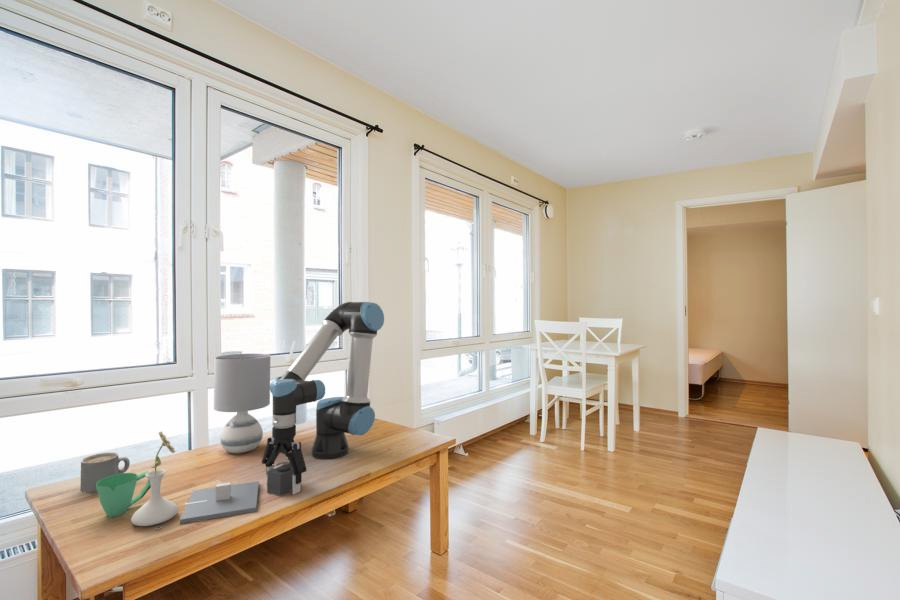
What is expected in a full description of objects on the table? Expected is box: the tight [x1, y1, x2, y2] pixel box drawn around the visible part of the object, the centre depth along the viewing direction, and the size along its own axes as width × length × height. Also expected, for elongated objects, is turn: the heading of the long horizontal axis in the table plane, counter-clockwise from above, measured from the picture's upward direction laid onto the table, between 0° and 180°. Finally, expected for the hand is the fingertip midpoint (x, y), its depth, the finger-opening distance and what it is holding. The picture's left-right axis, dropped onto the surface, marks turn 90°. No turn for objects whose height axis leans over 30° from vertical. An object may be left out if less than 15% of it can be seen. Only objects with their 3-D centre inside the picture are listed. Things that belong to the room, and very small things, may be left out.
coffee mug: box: [80, 451, 131, 494], centre depth 145 cm, size 13×10×10 cm
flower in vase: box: [130, 431, 179, 527], centre depth 123 cm, size 13×11×25 cm
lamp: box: [213, 353, 271, 454], centre depth 180 cm, size 22×22×40 cm
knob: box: [266, 461, 298, 497], centre depth 143 cm, size 8×6×9 cm
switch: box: [179, 480, 260, 525], centre depth 133 cm, size 20×20×6 cm
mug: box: [96, 471, 151, 517], centre depth 129 cm, size 15×10×10 cm
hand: (283, 488), depth 143 cm, fingers open, 12 cm apart
